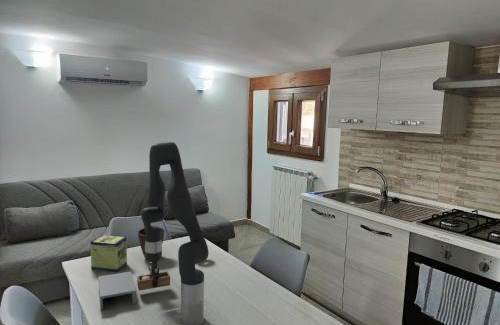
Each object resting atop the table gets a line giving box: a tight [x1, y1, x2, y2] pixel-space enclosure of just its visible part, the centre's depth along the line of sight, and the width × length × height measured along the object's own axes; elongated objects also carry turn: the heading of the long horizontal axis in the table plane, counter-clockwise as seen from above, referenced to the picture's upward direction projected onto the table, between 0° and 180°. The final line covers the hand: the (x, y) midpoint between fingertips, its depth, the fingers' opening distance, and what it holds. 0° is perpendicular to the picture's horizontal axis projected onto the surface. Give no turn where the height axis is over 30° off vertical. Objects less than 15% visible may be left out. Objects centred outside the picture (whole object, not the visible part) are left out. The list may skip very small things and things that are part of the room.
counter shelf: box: [98, 271, 137, 312], centre depth 160 cm, size 20×14×6 cm
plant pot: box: [137, 227, 166, 258], centre depth 203 cm, size 15×15×16 cm
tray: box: [136, 271, 171, 292], centre depth 163 cm, size 6×14×4 cm, turn 115°
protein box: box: [90, 234, 128, 273], centre depth 190 cm, size 10×16×16 cm
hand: (153, 283), depth 164 cm, fingers closed on tray, 5 cm apart
